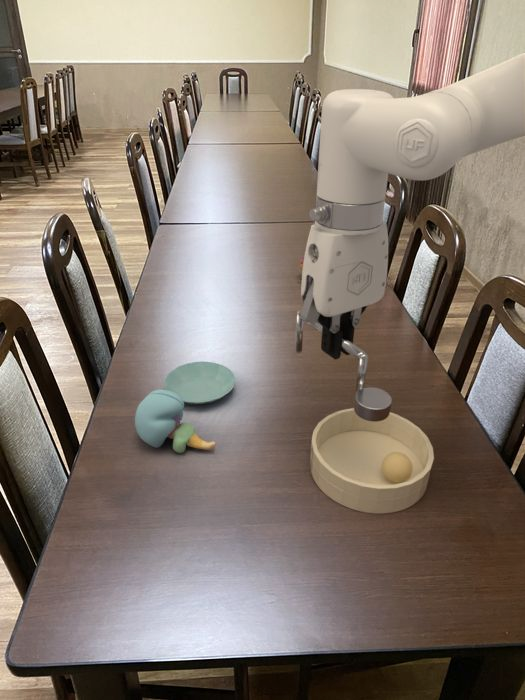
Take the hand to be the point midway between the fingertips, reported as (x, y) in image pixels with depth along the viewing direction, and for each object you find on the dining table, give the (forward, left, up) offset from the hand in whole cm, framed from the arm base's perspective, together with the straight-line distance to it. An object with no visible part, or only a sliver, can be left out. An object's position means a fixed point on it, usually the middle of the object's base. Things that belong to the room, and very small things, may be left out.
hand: (336, 351), depth 70 cm
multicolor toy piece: (+13, +18, -17) cm, 28 cm away
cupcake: (+48, -36, -17) cm, 62 cm away
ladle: (0, 0, -5) cm, 5 cm away
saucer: (+23, +9, -17) cm, 30 cm away
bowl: (-6, -2, -17) cm, 18 cm away
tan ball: (-10, -2, -15) cm, 18 cm away
